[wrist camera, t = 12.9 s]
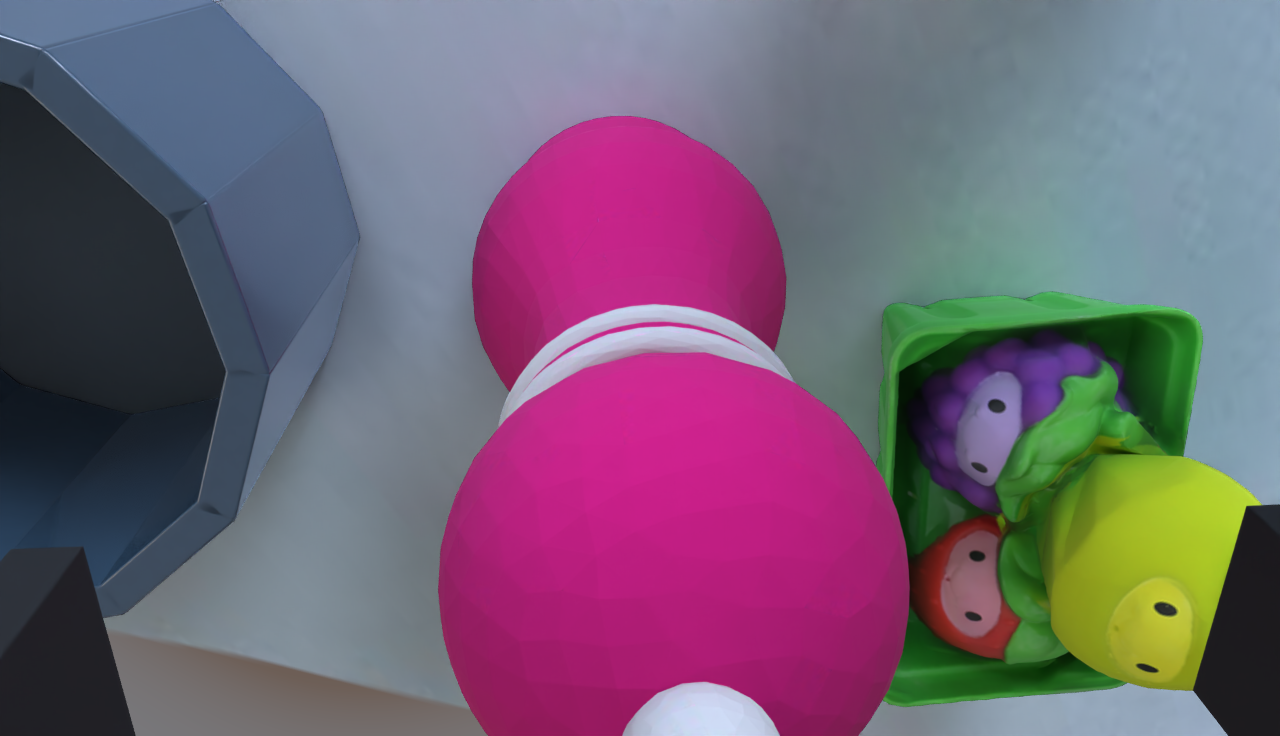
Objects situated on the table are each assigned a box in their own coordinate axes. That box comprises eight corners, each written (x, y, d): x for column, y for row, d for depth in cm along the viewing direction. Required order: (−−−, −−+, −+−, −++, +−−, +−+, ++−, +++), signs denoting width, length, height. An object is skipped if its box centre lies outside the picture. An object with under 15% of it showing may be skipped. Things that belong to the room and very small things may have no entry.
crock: (57, -163, 23) (-224, -202, 15) (451, 241, 28) (399, 381, 19) (-259, 195, 26) (-642, 328, 18) (144, 510, 30) (-15, 732, 22)
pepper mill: (743, 78, 26) (1128, 459, 8) (761, 336, 29) (1073, 1041, 11) (463, 113, 26) (215, 577, 8) (510, 369, 29) (406, 1130, 11)
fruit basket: (839, 263, 29) (989, 463, 18) (1151, 240, 29) (1473, 425, 19) (830, 598, 33) (945, 908, 23) (1099, 576, 33) (1333, 872, 23)
